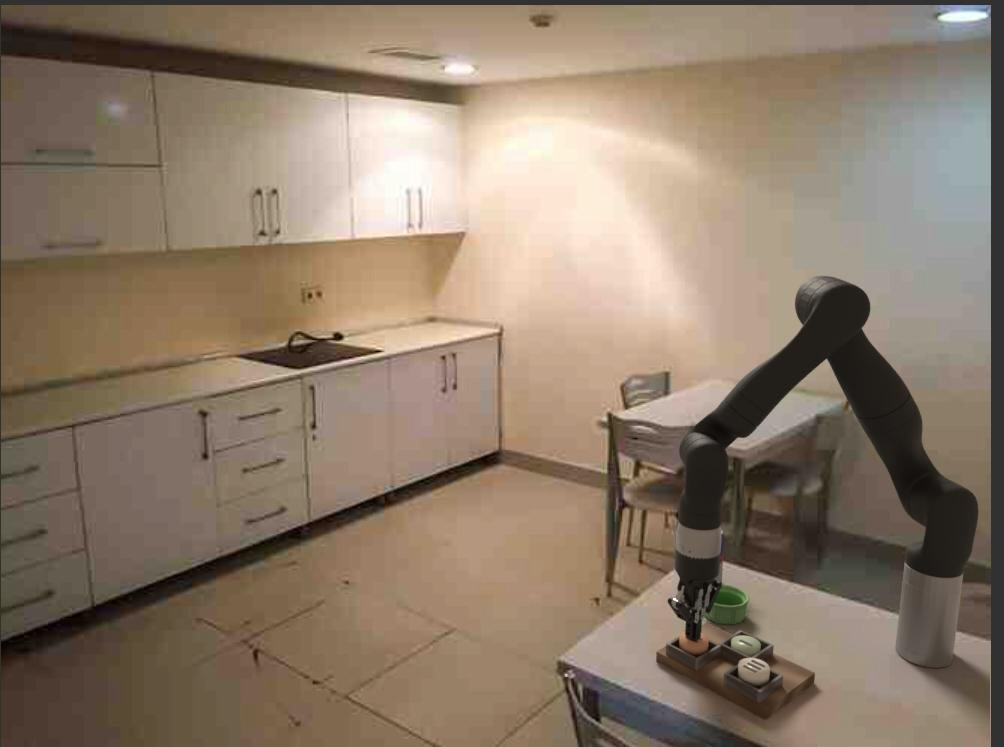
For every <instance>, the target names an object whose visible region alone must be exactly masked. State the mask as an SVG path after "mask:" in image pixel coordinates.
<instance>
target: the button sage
mask: <svg viewBox="0 0 1004 747" xmlns="http://www.w3.org/2000/svg"><path fill="white" fill-rule="evenodd" d="M731 648H733V649H735V650H737V651H739V652H741V653H743V654H745V655H747V656H749V657H752V656H754V655H755V654H757V653H758V652H760V650H761V644H760V642H759V641H758V640H757V639H755V638H753V637H750V636H744V635H740V636H735V637H733V638H732V640H731Z"/></svg>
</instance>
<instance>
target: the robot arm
mask: <svg viewBox="0 0 1004 747" xmlns="http://www.w3.org/2000/svg"><path fill="white" fill-rule="evenodd" d="M794 310H795V313H796V316H797V318H798V321H799V323H801V325H802V326H801V328H800V329H799V331H798V332H797V333H796V334H795V335H794V337H793V338H792V339H791V340H790V341H788V343H786V345H785V346H783V347H782V348H781V349H780V350H779V351H778V352H777V353H775V354H774V355H772V356H771V357H769V358H768V359H766V360H765V361H763V362H762V363H760V364H758V365H757V366H756V367H754V368H753V369H752V370H751V371H749V372H748V373H747V374H745V375H744V377H742V378H741V379H740V380H739V381H738V383H737V384H735V386H734V387H733V388H732V389H731V390H730V391H729V393H728V394H727V395H726V396H725V397H724V399H723V400H722V401H721V402H720V403H719V404H718V406H717V407H716V408H715V409H714V410H712V411H711V412H709V413H708V414H707V415H705V416H704V417H703V418H702V419H700V421H699V422H697V423H696V424H695V425H693V427H691V429H689V431H688V432H686V434H685V435H684V437H683V439H682V440H681V442H680V444H679V449H678V450H679V451H678V455H679V458H680V460H681V462H682V464H683V465H684V468H685V483H684V489H683V490H682V492H681V494H680V496H679V504H678V505H679V506H678V522H677V523H678V524H677V528H676V535H675V537H676V538H675V556H674V557H675V559H674V570H675V572H676V574H677V575H678V577H679V579H678V580H679V581H678V584H677V588H676V590H677V593H676V595H675V596H674V597H672V596H670V597H668V599H667V603H668V605H669V607H670V608H671V610H672V611H673V612H674V614H675V615H676V617H677V618H678V619H680V620H682V621H683V622H685V625H684V626H685V627H684V628H685V629H684V632H685V636H686V637H687V638H688V639H690V640H692V641H696V640H698V639H700V638H701V630H702V629H701V628H702V625H703V621H704V619H705V618H706V616H705V613H710V611H711V609H712V607H713V605H714V602H715V600H716V598H717V596H718V593H719V591H720V589H721V587H722V585H723V581H722V582H720V581H718V580H716V579H715V578H716V577H717V576H718V575H719V570H720V554H721V529H722V525H721V524H722V512H723V510H722V509H723V504H722V503H723V501H722V500H723V497H724V494H725V490H726V485H727V481H728V477H729V471H730V470H729V468H730V463H729V460H730V459H729V455H728V452H727V448H728V447H729V446H731V444H733V443H734V442H735V441H736V440H737V439H746V438H748V437H749V436H750V435H752V434H753V433H755V431H756V430H757V428H758V427H760V425H761V424H762V423H763V422H764V421H765V419H766V418H767V417H768V416H769V415H770V414H771V413H772V412H773V410H774V409H775V408H776V407H777V405H778V404H780V402H782V401H783V399H784V398H785V397H786V396H787V395H788V394H790V392H791V391H792V390H793V389H794V388H795V387H797V385H799V383H801V382H802V380H804V379H805V378H806V377H808V375H809V374H810V373H812V372H813V371H814V370H815V369H817V367H819V366H820V365H821V364H822V363H823V362H825V360H827V361H828V364H829V365H830V367H831V370H832V371H833V374H834V376H835V378H836V381H837V382H838V384H839V386H840V388H841V390H842V392H843V394H844V396H845V397H846V400H847V402H848V405H850V408H851V410H852V412H853V414H854V415H855V418H856V419H857V421H858V423H859V425H860V426H861V428H862V430H863V431H864V433H865V434H866V436H867V438H868V439H869V441H870V443H871V444H872V446H873V447H874V450H875V451H876V453H877V455H878V456H879V458H880V460H881V461H882V463H883V464H884V466H885V468H886V470H887V472H888V474H889V476H890V480H891V481H892V484H893V487H894V489H895V491H896V494H897V496H898V499H899V501H900V503H901V506H902V508H903V509H904V510H903V511H904V512H906V514H907V515H908V517H910V519H912V520H914V521H915V522H916V523H918V524H920V525H921V526H923V527H925V529H924V530H925V531H924V535H923V536H924V537H923V540H922V541H916V542H912V543H910V544H909V545H907V548H906V549H905V554H904V556H905V557H904V563H903V564H904V566H903V574H902V584H901V592H900V593H901V594H900V601H899V602H900V603H899V612H898V622H897V628H896V639H895V641H896V642H895V650H896V652H897V654H898V655H899V656H900V657H902V658H903V659H904V660H906V661H908V662H910V663H912V664H915V665H918V666H922V667H926V668H936V669H937V668H946V667H948V666H950V665H951V664H952V663H953V658H954V653H955V652H954V651H955V644H956V637H957V626H958V620H959V611H960V605H961V604H960V603H961V595H962V593H961V592H962V586H963V577H964V572H965V566H966V564H967V562H968V561H969V559H970V557H971V555H972V551H973V547H974V541H975V537H976V531H977V527H978V526H977V525H978V521H979V502H978V500H977V497H976V496H975V494H974V493H973V492H972V491H971V490H970V489H968V488H966V487H964V486H962V485H960V484H959V483H957V482H955V481H953V480H951V479H949V478H948V477H945V476H944V475H942V474H941V473H940V471H939V470H938V469H937V468H936V466H935V465H934V463H933V461H932V460H931V458H930V457H929V455H928V453H927V452H926V449H925V447H924V445H923V418H922V414H921V412H920V408H919V407H918V404H917V403H916V401H915V399H914V397H913V395H912V393H911V392H910V390H909V388H908V386H907V385H906V383H905V382H904V380H903V379H902V377H901V375H900V374H898V372H897V371H896V369H895V368H894V367H893V366H892V365H891V364H890V363H889V361H888V360H887V359H886V358H885V357H884V356H883V355H882V354H881V353H880V352H879V351H878V349H877V348H876V347H875V346H874V344H872V342H871V341H870V340H869V338H868V337H867V335H866V334H865V331H864V330H863V328H864V326H865V325H866V323H867V322H868V320H869V317H870V315H871V314H870V313H871V302H870V298H869V295H867V293H866V291H864V290H863V289H862V288H860V286H858V285H856V284H853V283H851V282H849V281H846V280H843V279H841V278H838V277H834V276H829V275H818V276H814V277H811V278H808V279H807V280H805V281H804V282H803V283H802V284H801V285H800V286H799V288H798V290H797V292H796V295H795V299H794Z"/></svg>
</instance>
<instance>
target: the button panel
mask: <svg viewBox="0 0 1004 747" xmlns="http://www.w3.org/2000/svg"><path fill="white" fill-rule="evenodd" d="M701 629H702V630H701V633H703V634H705V635H706V636H707V637H708V639H709V642H708V652H706V653H704V654H703V655H701V656H693V655H691V654H689V653H687V652H685V651H683V650H681V649H679V638H680V635H678V637H676V638H674V639H672V640H670V641H668V642H667V643H666V644H665V646H663V647H662V648H660V649H658V650H657V651H656V655H655V656H656V658H655V662H656V663H658V664H660V665H661V666H663V667H666V668H667V669H669V670H671V671H673V672H675V673H677V674H679V675H681V676H682V677H683V678H686V679H688V680H690V681H691V682H693V683H696V684H697V685H700V686H701V687H703V688H705V689H706V690H708V691H710V692H712V693H714V694H716V695H718V696H720V697H722V698H723V699H725V700H727V701H729V702H730V703H733V704H734V705H737V706H738V707H740V708H742V709H744V710H746V711H747V712H749V713H752V714H753V715H755V716H757V717H759V718H760V719H762V720H764V721H767V720H768V719H769V718H771V717H772V716H773V715H774V714H776V713H777V712H779V711H780V710H781V709H782V708H784V707H785V706H787V705H788V704H789V703H790V702H792V701H793V700H794V699H796V698H797V697H798V696H799V695H801V694H802V693H803V692H805V691H806V690H808V689H809V688H810V687H811V686H813V685H814V684H815V678H816V673H815V672H814V671H812V670H810V669H808V668H805V667H803V666H801V665H799V664H797V663H795V662H793V661H790V660H789V659H786V658H785V657H782V656H780V655H777V654H776V653H774V644H773V643H770V642H768V641H767V640H763V639H761V638H759V637H757V636H754V635H752V634H750V633H748V632H745V631H744V630H741V629H739V630H738V631H735V632H734V633H733V634H732V633H730V632H728V631H726V630H725V629H721V628H720V627H718V626H715V625H713V624H711V623H709V622H705V623H702V628H701ZM740 635H744V636H750V637H753V638H755V639H757V640H758V641H759V642H760V644H761V650H760V652H758V653H757V654H755V655H754V656H752V657H749V656H747V655H745V654H743V653H741V652H739V651H737V650H735V649H733V648H731V640H732V638H733V637H735V636H740ZM744 658H756V659H759V660H762V661H764V662H766V663H767V664H768V665H769V667H770V676H769V682H768V683H767V684H766V685H763V686H752V685H750V684H748V683H746V682H744V681H742V680H740V679H739V678H738V663H739V661H740V660H742V659H744Z"/></svg>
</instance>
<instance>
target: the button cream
mask: <svg viewBox="0 0 1004 747" xmlns="http://www.w3.org/2000/svg"><path fill="white" fill-rule="evenodd" d="M769 676H770V667H769V665H768V664H767V663H766V662H764V661H762V660H759V659H756V658H744V659H742V660H740V661H739V663H738V678H739V679H740V680H742V681H744V682H746V683H748V684H750V685H752V686H763V685H766V684H767V683H768V682H769Z"/></svg>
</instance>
